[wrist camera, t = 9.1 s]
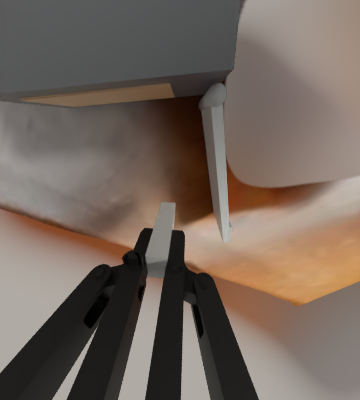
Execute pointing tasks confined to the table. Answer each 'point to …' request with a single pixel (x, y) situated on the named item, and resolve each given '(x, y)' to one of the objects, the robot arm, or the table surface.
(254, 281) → the table surface
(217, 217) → the grey thin flat plate
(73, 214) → the table surface
